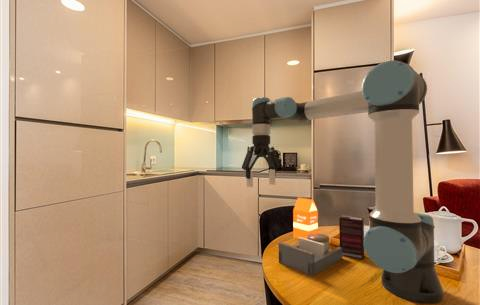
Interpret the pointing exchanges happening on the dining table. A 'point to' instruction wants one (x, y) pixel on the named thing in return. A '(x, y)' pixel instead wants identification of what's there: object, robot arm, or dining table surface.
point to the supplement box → (352, 236)
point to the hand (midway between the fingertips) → (261, 185)
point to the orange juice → (304, 218)
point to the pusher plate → (311, 246)
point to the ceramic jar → (320, 239)
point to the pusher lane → (307, 258)
